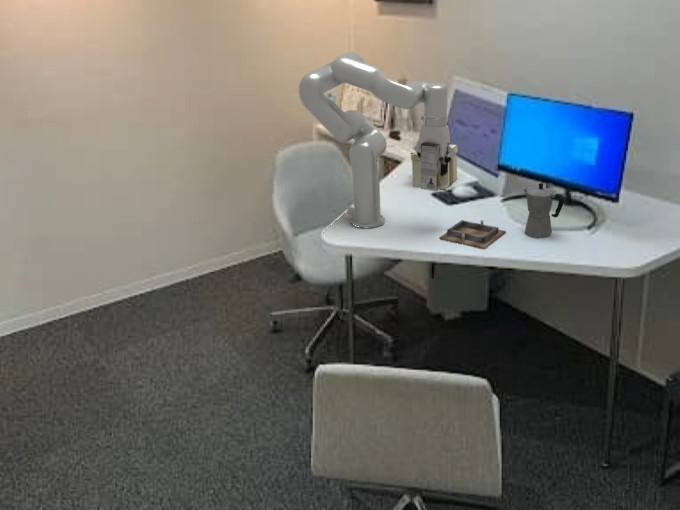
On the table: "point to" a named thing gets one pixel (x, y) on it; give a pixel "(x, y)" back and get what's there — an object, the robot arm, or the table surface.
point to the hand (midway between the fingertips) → (434, 172)
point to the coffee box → (431, 168)
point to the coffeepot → (541, 211)
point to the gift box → (417, 168)
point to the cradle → (472, 234)
